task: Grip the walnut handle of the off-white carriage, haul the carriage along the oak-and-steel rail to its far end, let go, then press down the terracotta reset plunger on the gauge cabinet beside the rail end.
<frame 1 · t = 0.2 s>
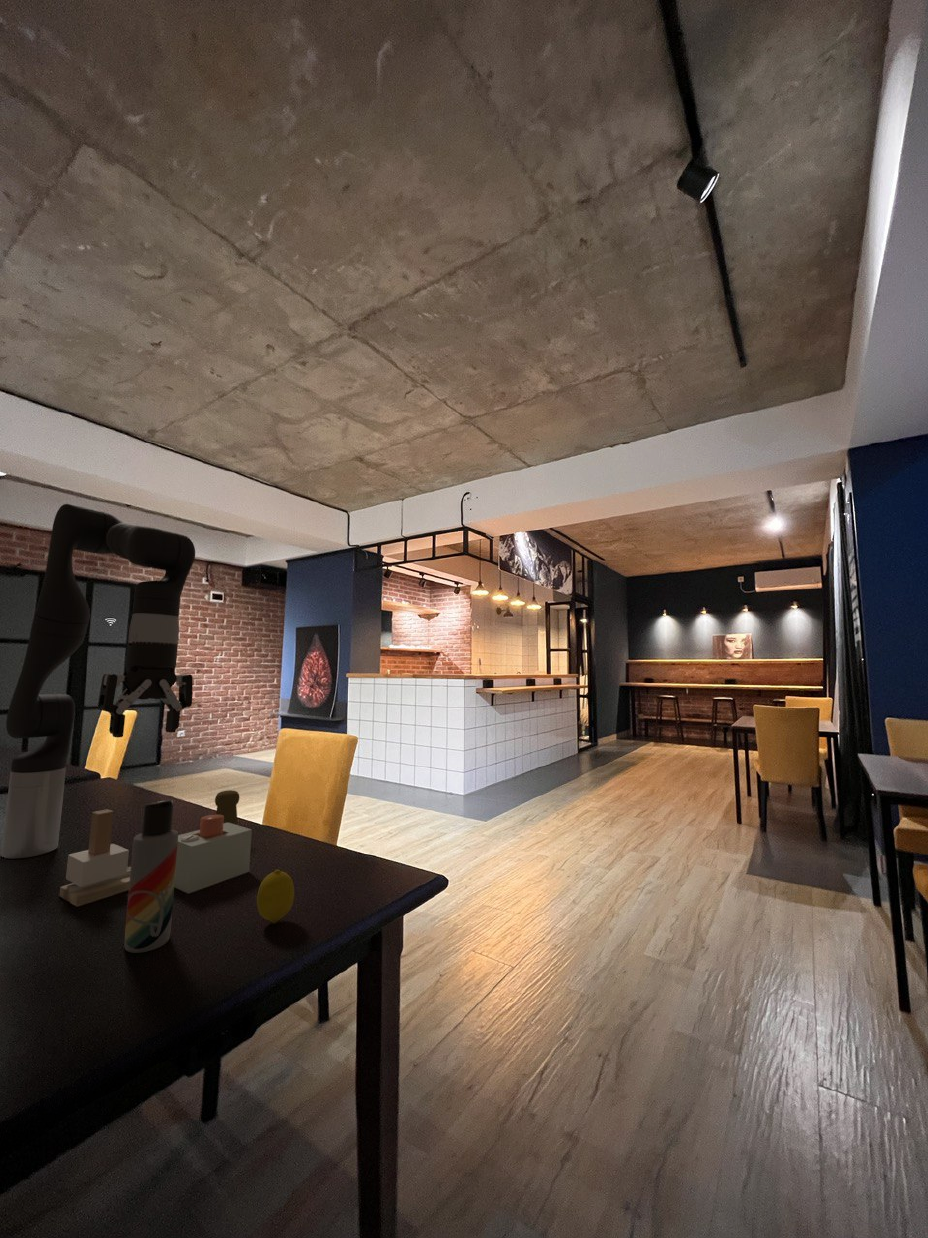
hand: (144, 734, 86), 28 cm above the table, tool pointing down, fingers open, 8 cm apart
gauge cabinet: (208, 877, 95), on the table
carriage: (99, 843, 88), point 8 cm above the table, slide at 0.0 cm
lemon: (274, 924, 78), on the table
rail: (146, 876, 95), on the table
lotion bottle: (147, 944, 72), on the table
gauge plunger: (211, 833, 96), point 8 cm above the table, slide at 0.0 cm
cork: (224, 840, 116), on the table
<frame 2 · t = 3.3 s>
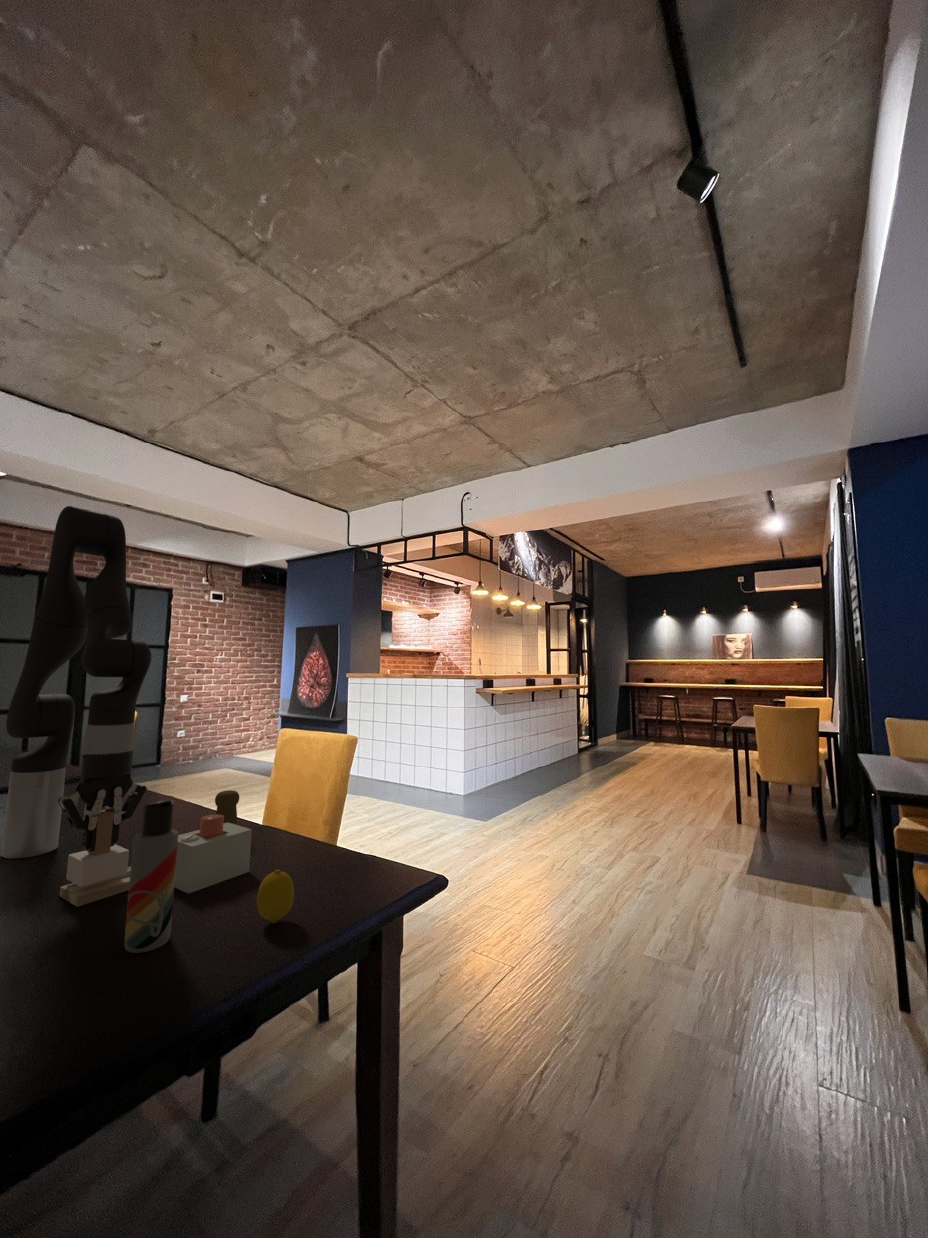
hand: (99, 847, 88), 8 cm above the table, tool pointing down, fingers closed on carriage, 2 cm apart
carriage: (100, 843, 88), point 8 cm above the table, slide at 0.0 cm, touching gripper
everything else where it was.
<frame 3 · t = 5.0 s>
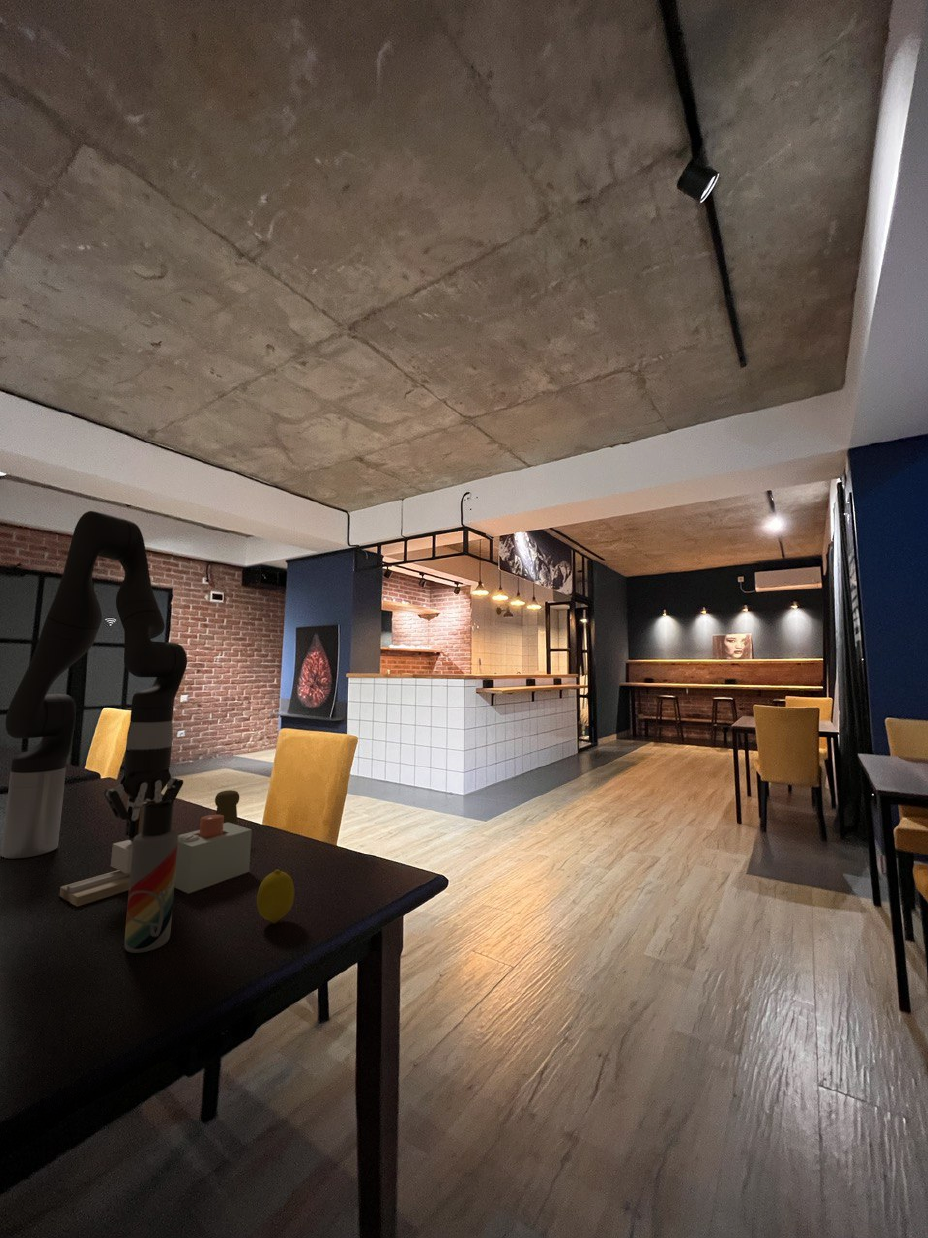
hand: (141, 837, 94), 8 cm above the table, tool pointing down, fingers closed on carriage, 2 cm apart
carriage: (141, 833, 94), point 8 cm above the table, slide at 6.9 cm, touching gripper
everything else where it was.
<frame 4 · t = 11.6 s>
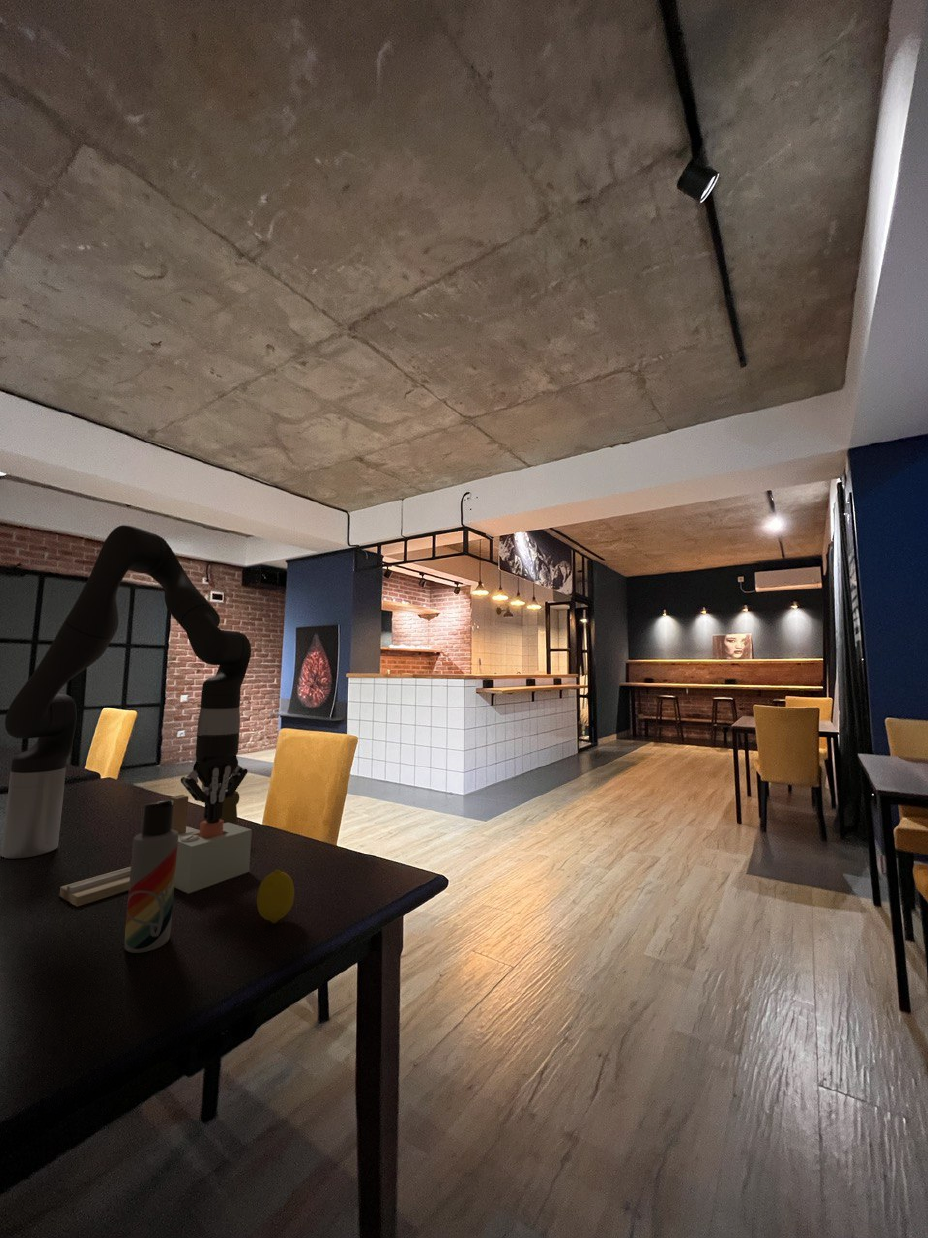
hand: (212, 822, 96), 10 cm above the table, tool pointing down, fingers closed
carriage: (177, 825, 100), point 8 cm above the table, slide at 13.5 cm
gauge plunger: (211, 838, 96), point 7 cm above the table, slide at 0.9 cm, touching gripper
everything else where it was.
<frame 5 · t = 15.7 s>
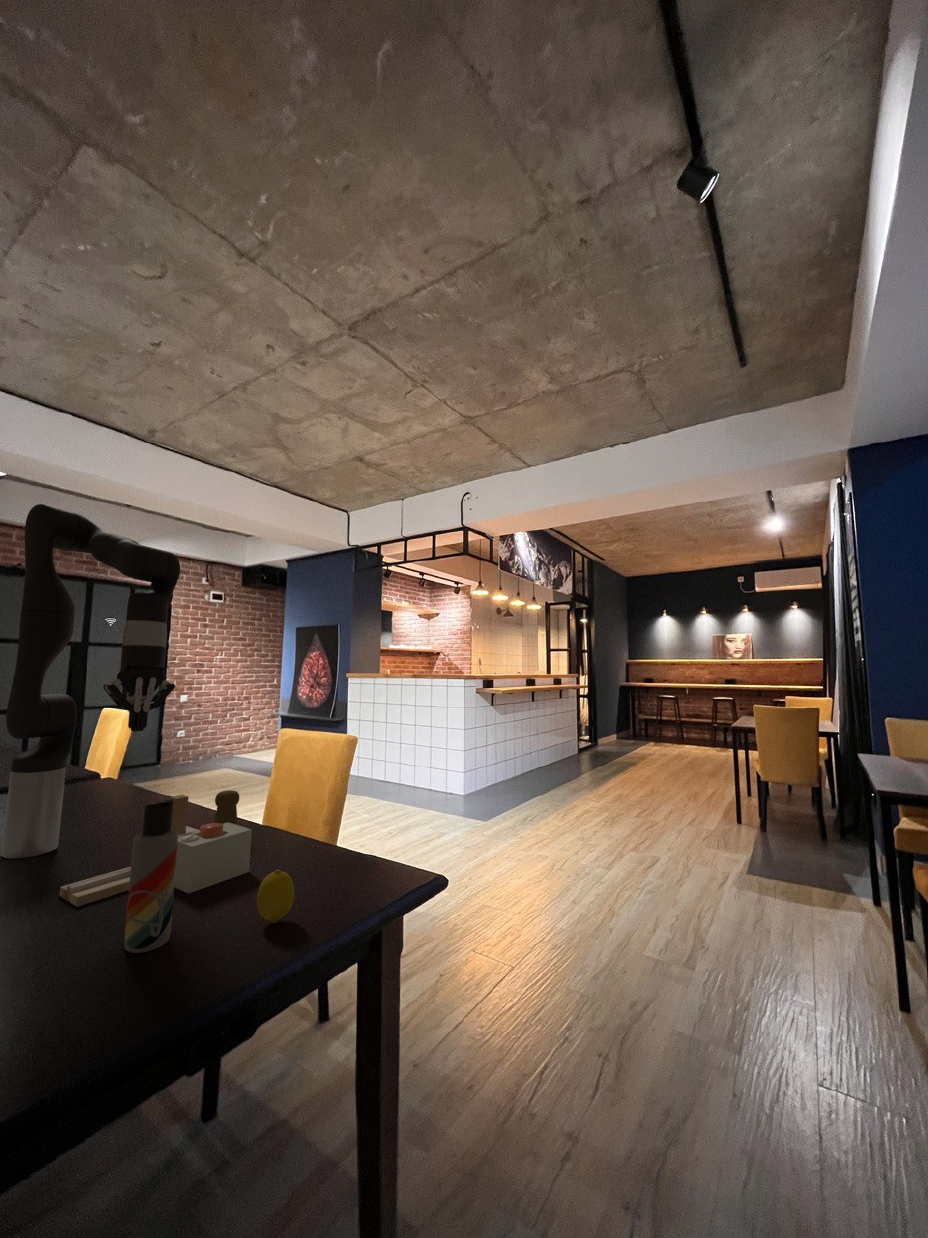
hand: (136, 730, 99), 27 cm above the table, tool pointing down, fingers closed
gauge plunger: (210, 842, 96), point 6 cm above the table, slide at 1.6 cm
everything else where it was.
at the end: carriage slide at 13.5 cm; gauge plunger slide at 1.6 cm; the gripper is holding nothing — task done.
